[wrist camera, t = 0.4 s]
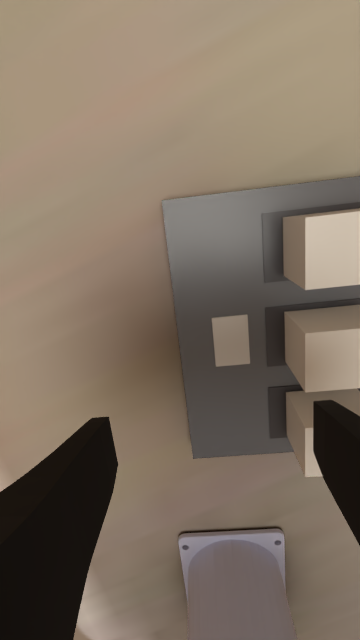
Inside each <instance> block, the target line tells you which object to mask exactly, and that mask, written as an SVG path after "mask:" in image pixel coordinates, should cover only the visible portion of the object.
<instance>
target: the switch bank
mask: <svg viewBox="0 0 360 640" xmlns="http://www.w3.org/2000/svg"><path fill="white" fill-rule="evenodd" d="M162 207H163V215H164V224H165V232H166V240H167V248H168V256H169V265H170V273H171V281H172V289H173V297H174V306H175V314H176V322H177V330H178V338H179V346H180V355H181V363H182V371H183V379H184V387H185V396H186V404H187V412H188V420H189V428H190V437H191V445H192V453H193V459H196V458H210V457H225V456H239V455H254V454H269V453H283V452H294V450H293V448H292V446H291V443H290V441H289V439H288V436H287V425H286V392H292V391H304V390H303V388H302V387H301V385H300V384H299V382H298V380H297V379H296V377H295V376H294V374H293V373H292V371H291V370H290V368H289V366H288V365H287V363H286V362H285V318H284V312H288V311H298V310H308V309H319V308H329V307H339V306H350V305H360V285H350V286H341V287H331V288H321V289H311V290H305V289H303V288H301V287H300V286H298V285H297V284H295V283H294V282H292V281H291V280H289V279H288V278H286V277H285V276H284V264H283V217H289V216H298V215H306V214H315V213H323V212H332V211H341V210H349V209H358V208H360V176H357V177H349V178H341V179H333V180H324V181H316V182H308V183H300V184H292V185H284V186H276V187H267V188H259V189H251V190H243V191H235V192H227V193H218V194H210V195H202V196H194V197H186V198H178V199H169V200H162ZM357 389H358V390H359V391H360V388H357Z"/></svg>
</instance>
